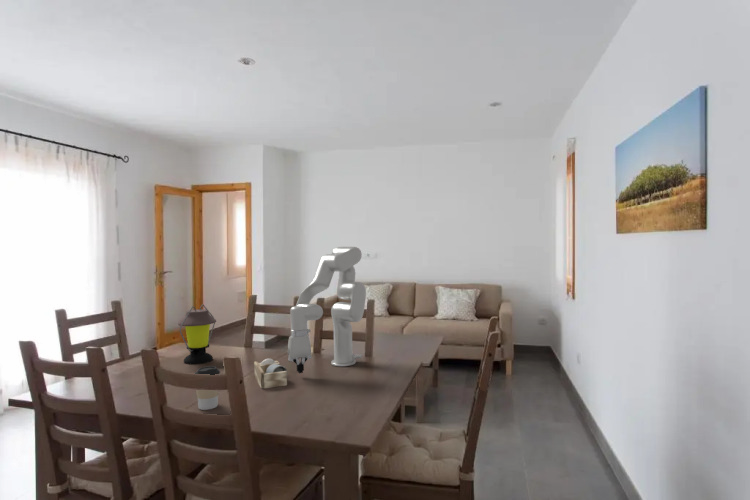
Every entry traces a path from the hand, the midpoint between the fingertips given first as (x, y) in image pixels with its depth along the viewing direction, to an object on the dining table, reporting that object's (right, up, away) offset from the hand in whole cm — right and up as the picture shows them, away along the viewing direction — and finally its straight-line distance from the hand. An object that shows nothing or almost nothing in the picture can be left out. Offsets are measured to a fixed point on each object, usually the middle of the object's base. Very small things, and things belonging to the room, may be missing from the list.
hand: (300, 372), depth 205 cm
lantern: (-61, -3, +35) cm, 70 cm away
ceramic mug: (-11, -3, -5) cm, 13 cm away
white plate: (-16, -3, +3) cm, 16 cm away
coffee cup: (-30, -4, -35) cm, 46 cm away
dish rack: (-13, -3, -4) cm, 14 cm away
